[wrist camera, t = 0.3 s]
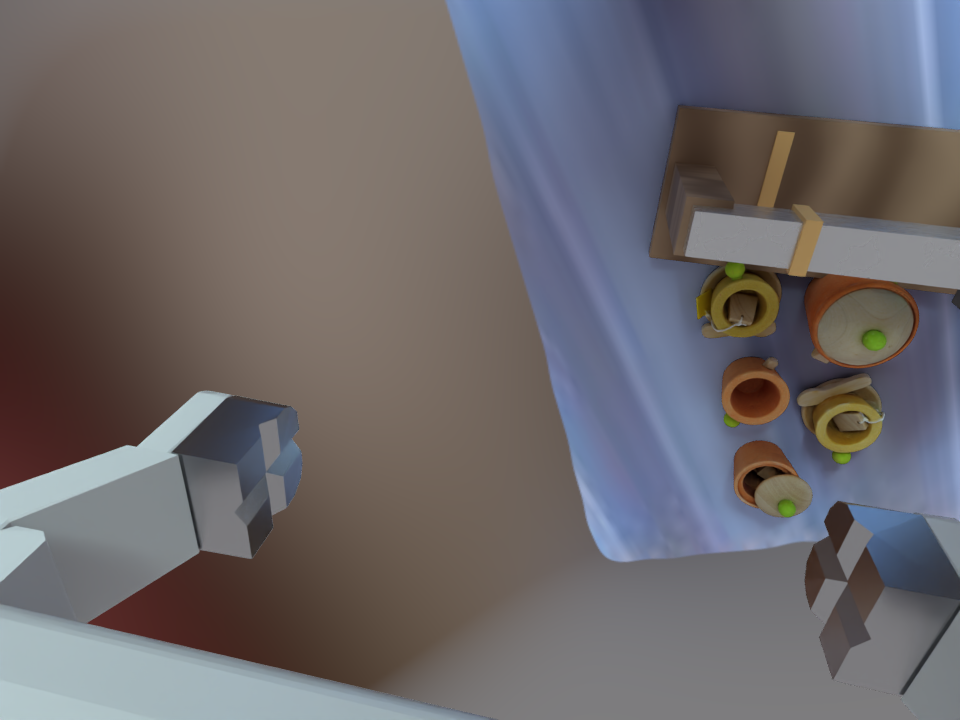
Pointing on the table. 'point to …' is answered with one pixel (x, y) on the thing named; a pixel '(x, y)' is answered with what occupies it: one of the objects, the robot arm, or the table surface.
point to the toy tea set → (837, 338)
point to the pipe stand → (812, 197)
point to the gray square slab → (957, 299)
